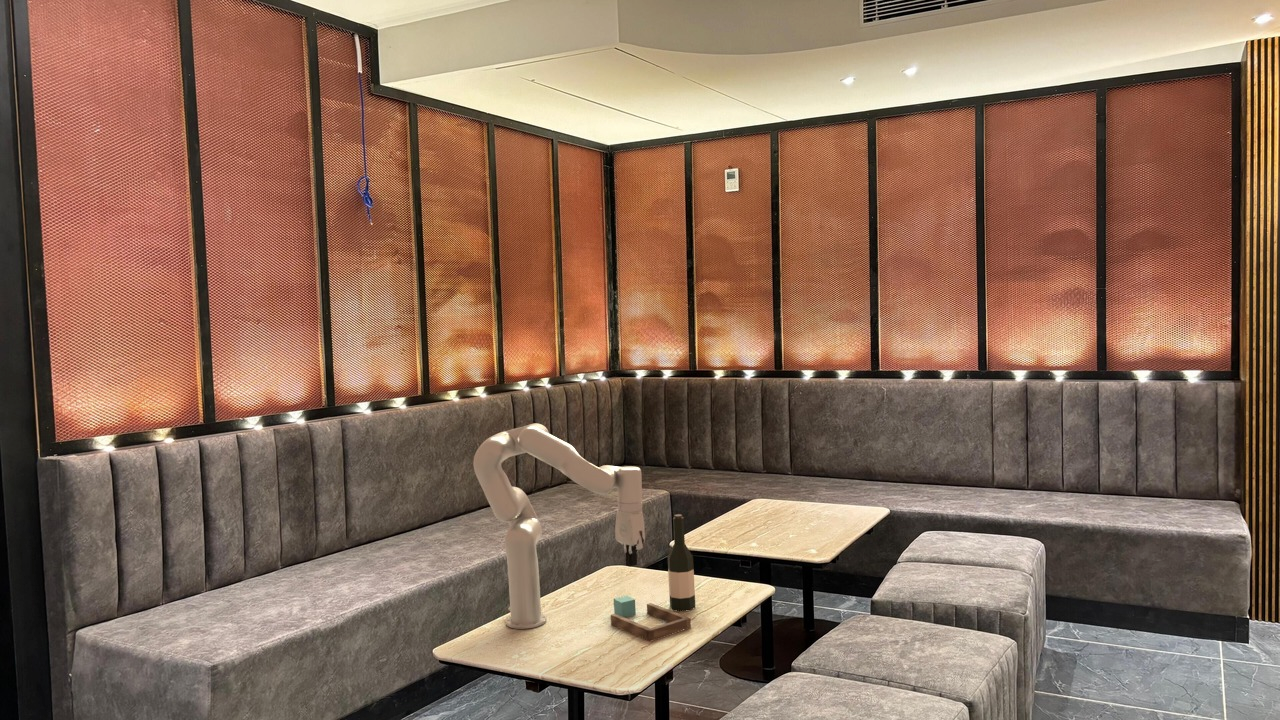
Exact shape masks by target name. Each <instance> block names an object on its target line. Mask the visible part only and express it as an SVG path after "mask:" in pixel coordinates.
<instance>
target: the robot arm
mask: <svg viewBox="0 0 1280 720" xmlns="http://www.w3.org/2000/svg"><path fill="white" fill-rule="evenodd" d="M526 453H527V454H528V455H530V456H532V457H533V458H536V459H538V460H539V461H541V462H544V463H545V464H547V465H549V466H551V467H553V468H555V469H556V470H558V471H559V472H560V473H562V474H563V475H564V476H566V477H567V478H569V479H570V480H571V481H573V482H574V483H575V484H577V485H579V486H580V487H583V488H584V489H587V490H588V491H590V492H593V493H594V494H598V495H603V496H604V495H608V494H609V493H610V492H612V491H613V490H614V489H615V488H616V489H617V510H616V515H615V525H614V527H615V529H614V530H615V532H614V533H615V536H614V537H615V540H616V542H618V543H619V544H620V545H622V547H623V552H624V553H625V566H627V567H634V566H635V567H636V566H637V565H638V553H639V550H643V548H644V545H643V544H644V543H645V542H646V532H645V531H646V529H645V528H646V527H645V519H644V513H643V488H642V486H643V485H642V483H643V482H642V480H643V478H642V469H641V468H640V467H638V466H635V465H634V466H631V465H630V466H629V465H628V466H627V465H626V466H615V465H608V464H606V465H605V464H604V465H602V466H599V467H598V466H596V465H595V464H593V463H591V462H589V461H588V460H586V459H585V458H583V457H582V456H581V455H580V454H579V452H578V451H577V450H576V449H575V447H574V446H573V445H571V444H570V443H568V442H566V441H564V440H562V439H560V438H558V437H556V436H554V435H553V434H551V433H550V431H549V430H548V428H547V427H546V426H545V425H543V424H541V423H530V424H528V425H524V426H521V427H516V428H512V429H508V430H504V431H501V432H498V433H496V434H493V435H492V436H490V437H488V438H486V439H485V440H484V441H483V442H482V443H481V444H480V445H479V446H478V448H477V450H476V452H475V454H474V456H473V462H472V464H473V471H474V473H475V476H476V478H477V480H478V483H479V485H480V487H481V488H482V491H483V493H484V496H485V498H486V499H487V502H488V504H489V506H490V508H491V511H492V513H493V514H494V517H495V518H496V520H497V521H500V522H501V523H508V525H509V529H507V532H506V534H505V536H504V550H505V555H506V556H505V557H506V562H507V564H506V565H507V575H508V577H507V578H508V590H509V591H508V593H509V606H508V608H507V609H508V611H509V612H510V616H509V617H507V619H506V620H505V625H506V626H507V627H509V628H511V629H517V630H525V629H527V630H528V629H534V628H537V627H540V626H542V625H544V624H545V623H546V622H547V616H546V614H544V613H542V607H541V587H540V574H539V573H540V571H539V561H538V560H539V559H538V554H537V543H538V542H539V541H540V539H541V537H542V533H543V532H542V531H543V529H542V524H541V523H540V520H539V518H538V515H537V514H536V512H535V509H534V507H533V505H532V504H531V501H530V499H529V497H528V495H527V494H526V493H525V491H523V489H521V488H519V487H517V486H512V485H511V482H510V479H509V478H508V476H507V474H506V473H505V470H504V469H503V467H502V463H503V462H504V461H505V460H507V459H509V458H511V457H515V456H518V455H522V454H526Z"/></svg>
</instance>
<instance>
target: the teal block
mask: <svg viewBox="0 0 1280 720" xmlns="http://www.w3.org/2000/svg"><path fill="white" fill-rule="evenodd" d="M613 610H614V611H613V614H617V615H619V616H622V617H624V618H628V617H631V616H632V615H633V616H636V615H637V614H636V613H637V612H636V611H637V610H636V599H635V598H633V597H631V596H629V595H623V596H620V597H616V598H613Z"/></svg>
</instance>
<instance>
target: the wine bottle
mask: <svg viewBox="0 0 1280 720" xmlns="http://www.w3.org/2000/svg"><path fill="white" fill-rule="evenodd" d="M672 520H673V521H672V522H673V541H674V544H673V545H672V547H671V548H670V550H669V552H668V555H667V569H668V570H667V571H668V572H667V573H668V575H667V576H668V592H669V607H671V608H670V609H671V611H675V610H677V611H676V612H680V611H681V612H687V611H686V610H690V611H692V610H694V609H695V608H696V591H695V588H696V587H695V571H694V568H695V567H694V556H693V553H691V551H690V549H689V548H688V546H687V545H686V541H685V521H684V520H685V519H684V516H683V515H682V514H679V513H678V514H674V517H673V518H672ZM693 608H694V609H693Z"/></svg>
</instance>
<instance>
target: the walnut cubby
mask: <svg viewBox="0 0 1280 720" xmlns="http://www.w3.org/2000/svg"><path fill="white" fill-rule="evenodd" d="M646 613H647V614H648V615H651V616H653V617H655V616H656V618H658V619H661V620H662V621H665V620H666V622H667V623H663V624H660V625H657V626H654V627H648V626H645V625H644V624H641V623H638V622H636V621H634V620H631V619H628V618H627V617H625V618H624V617H622V616H619V615H617V614H614V613H611V614H610V624H611V626H614V627H616V628H619V629H621V630H623V631H625V632H627V633H630V634H633V635H635V636H637V637H639V638H642V639H644V640H646V641H649V642H653V641H655V639H656V640H658V638H659V639H662V638H664V636H665V637H667V635H668V636H670V634H671V635H673V634H672V633H674V634H676V633H675V632H677V633H679V632H678V631H680V632H682V631H681V630H683V629H686V630H688V629H687V628H689V629H691V628H692V625H691V623H692V622H691V617H688V616H687V615H683V614H681V613H678V612H677V611H674V610H670V609H667V608H665V607H663V606H659V605H657V604H654V603H652V602H649V603H646ZM690 627H691V628H690ZM683 631H684V630H683ZM661 637H662V638H661Z"/></svg>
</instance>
